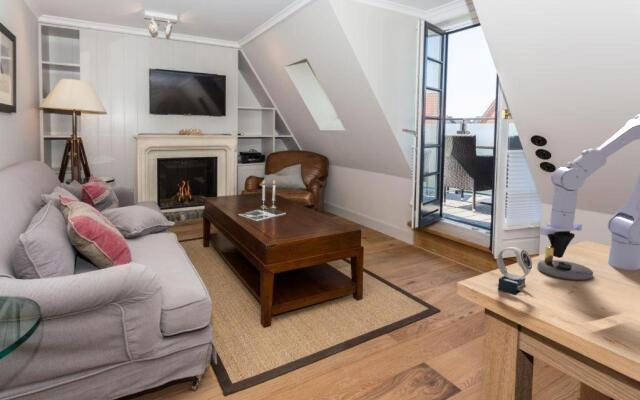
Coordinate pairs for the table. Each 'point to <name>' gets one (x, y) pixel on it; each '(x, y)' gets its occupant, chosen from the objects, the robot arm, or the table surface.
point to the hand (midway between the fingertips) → (557, 256)
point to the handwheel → (563, 268)
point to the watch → (511, 281)
